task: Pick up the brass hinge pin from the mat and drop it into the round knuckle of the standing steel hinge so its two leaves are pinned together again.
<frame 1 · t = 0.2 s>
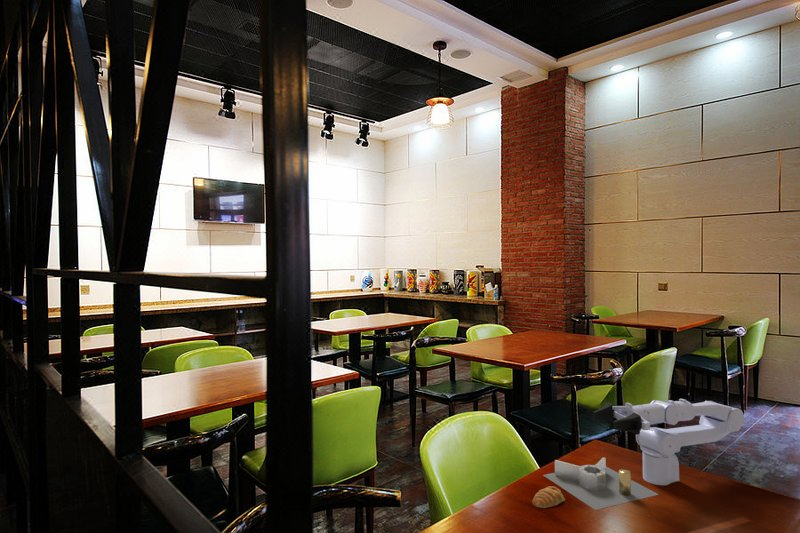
hand: (603, 420, 133), 21 cm above the table, tool horizontal, fingers open, 7 cm apart
mat: (598, 487, 138), on the table
pastry: (548, 505, 129), on the table
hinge: (592, 485, 137), resting on mat
pin: (625, 493, 132), point 1 cm above the table, touching mat
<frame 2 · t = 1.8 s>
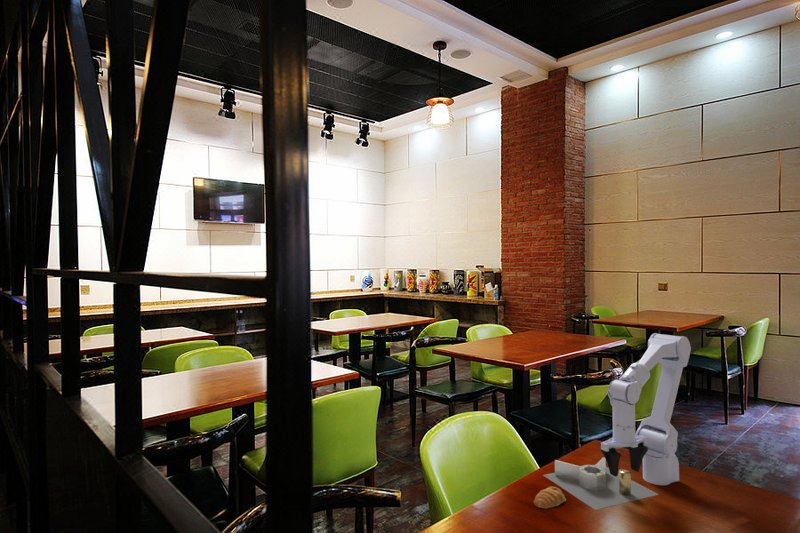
hand: (624, 472, 132), 7 cm above the table, tool pointing down, fingers open, 7 cm apart
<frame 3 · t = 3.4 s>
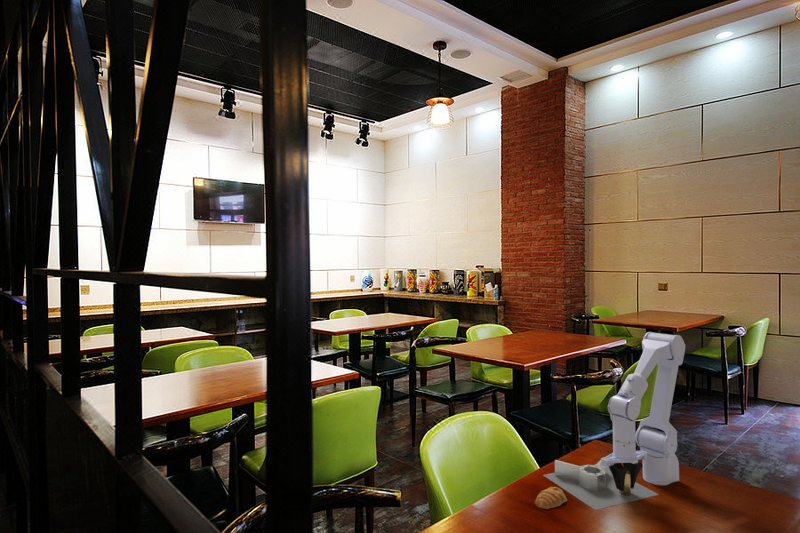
hand: (624, 488, 132), 2 cm above the table, tool pointing down, fingers closed on pin, 3 cm apart
pin: (625, 493, 132), point 1 cm above the table, touching gripper, mat
when the fingers open (8 cm above the table, at t = 6.4 s): pin drops 6 cm, resting on mat.
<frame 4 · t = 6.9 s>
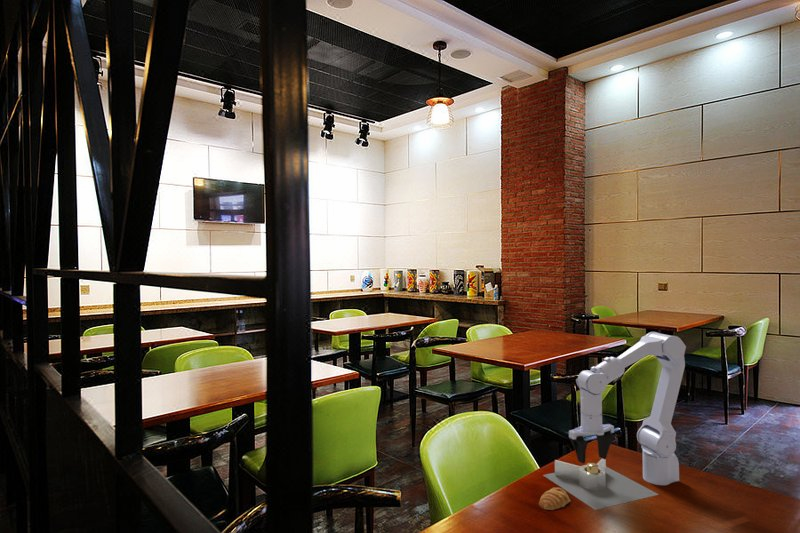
hand: (592, 460, 137), 8 cm above the table, tool pointing down, fingers open, 7 cm apart
pin: (592, 485, 137), point 1 cm above the table, touching mat
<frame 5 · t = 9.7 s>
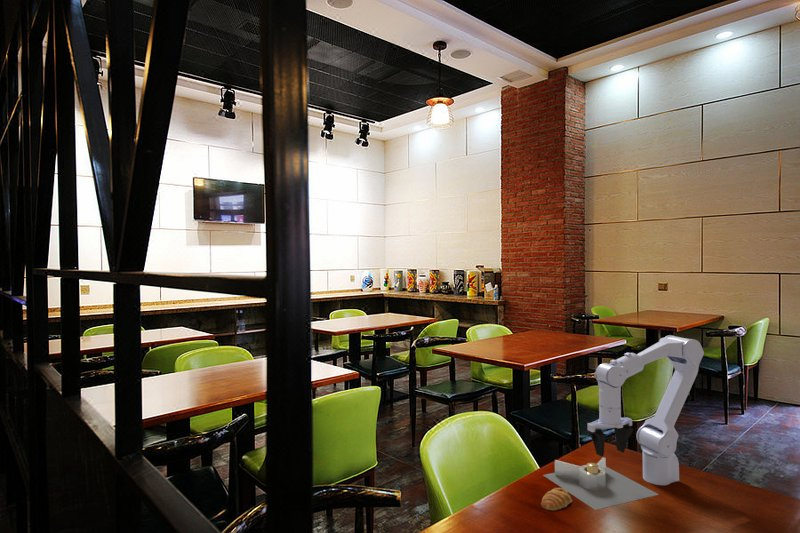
hand: (610, 453, 137), 10 cm above the table, tool pointing down, fingers open, 7 cm apart
at the end: pin 0.1 cm off-centre on the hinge, point 0.0 cm above the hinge's base; pin tilted 0°; the gripper is holding nothing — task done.
